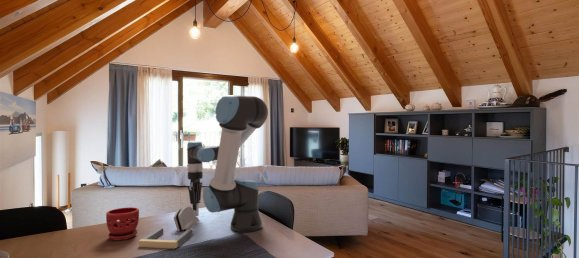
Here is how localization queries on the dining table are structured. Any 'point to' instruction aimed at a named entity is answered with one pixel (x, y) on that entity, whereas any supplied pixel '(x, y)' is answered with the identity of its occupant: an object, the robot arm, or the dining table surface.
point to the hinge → (185, 219)
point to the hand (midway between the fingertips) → (195, 215)
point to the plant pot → (122, 223)
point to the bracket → (150, 241)
